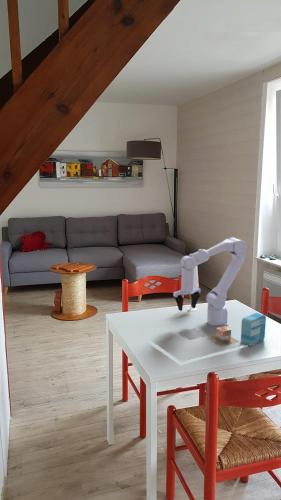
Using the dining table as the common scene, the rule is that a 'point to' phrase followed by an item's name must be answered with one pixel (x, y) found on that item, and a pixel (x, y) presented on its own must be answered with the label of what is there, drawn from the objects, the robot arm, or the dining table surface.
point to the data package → (253, 329)
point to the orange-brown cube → (223, 334)
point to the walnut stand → (223, 342)
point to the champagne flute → (195, 284)
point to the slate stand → (192, 334)
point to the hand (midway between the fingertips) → (186, 309)
